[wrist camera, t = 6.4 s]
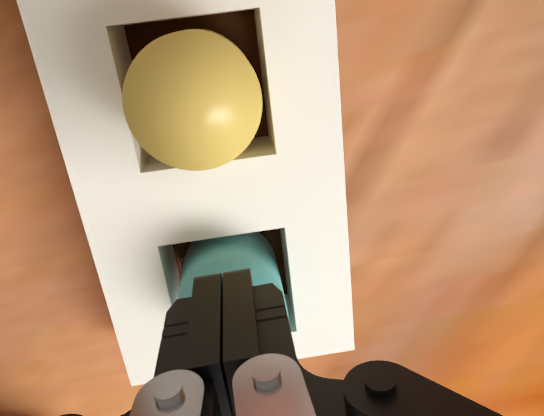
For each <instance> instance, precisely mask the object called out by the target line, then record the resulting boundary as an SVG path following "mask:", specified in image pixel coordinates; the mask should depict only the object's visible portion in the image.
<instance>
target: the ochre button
mask: <svg viewBox="0 0 544 416" xmlns="http://www.w3.org/2000/svg"><path fill="white" fill-rule="evenodd" d="M122 105H123V111H124V115H125V119H126V122H127V124H128V127H129V129H130V131H131V133H132V134H133V136H134V138H135V139H136V140H137V142H138V143H139V144H140V146H141V147H142V148H143V149H144V150H145V151H146V152H147V153H149V154H150V155H151V156H153V157H154V158H155V159H157V160H159V161H160V162H162V163H164V164H166V165H169V166H171V167H174V168H178V169H182V170H188V171H202V170H209V169H214V168H217V167H220V166H222V165H224V164H226V163H228V162H230V161H232V160H233V159H235V158H236V157H237V156H239V155H240V154H241V153H242V152H243V151H244V150H245V149H246V148H247V147H248V145H249V144H250V143H251V141H252V140H253V138H254V136H255V134H256V132H257V130H258V127H259V124H260V120H261V116H262V106H263V103H262V92H261V87H260V84H259V81H258V78H257V75H256V73H255V71H254V69H253V67H252V66H251V64H250V63H249V61H248V60H247V58H246V57H245V55H244V54H243V52H242V51H241V50H240V49H239V48H238V46H236V45H235V44H234V43H233V42H232V41H231V40H229V39H228V38H227V37H225V36H223V35H221V34H219V33H217V32H214V31H211V30H206V29H198V28H196V29H186V30H181V31H177V32H172V33H169V34H166V35H163V36H161V37H159V38H157V39H155V40H153V41H152V42H151V43H149V44H148V45H146V46H145V47H144V48H143V49H142V50H141V51H140V52H139V53H138V54H137V56H136V57H135V58H134V60H133V61H132V63H131V65H130V67H129V68H128V71H127V74H126V76H125V80H124V84H123V91H122Z"/></svg>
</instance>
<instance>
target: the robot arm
mask: <svg viewBox="0 0 544 416" xmlns="http://www.w3.org/2000/svg"><path fill="white" fill-rule="evenodd" d="M61 416H82V415H78V414H66V415H61ZM121 416H502V415H500V414H498V413H496V412H494V411H492V410H490V409H488V408H486V407H484V406H482V405H480V404H478V403H476V402H474V401H472V400H470V399H468V398H466V397H464V396H462V395H460V394H458V393H456V392H454V391H452V390H450V389H448V388H446V387H444V386H442V385H439V384H437V383H435V382H433V381H431V380H429V379H427V378H425V377H423V376H421V375H419V374H417V373H415V372H413V371H411V370H409V369H407V368H405V367H403V366H401V365H398V364H396V363H393V362H389V361H369V362H365V363H362V364H359V365H357V366H356V367H354V368H353V369H351V370H350V371H349V372H348V374H347V375H346V377H345V379H344V380H339V379H328V378H322V377H319V376H316V375H313V374H311V373H310V372H308V371H306V370H305V369H304V368H303V367H302V366H301V365H300V363H299V362H298V360H297V357H296V353H295V348H294V343H293V339H292V334H291V330H290V325H289V320H288V316H287V311H286V307H285V302H284V297H283V293H282V291H281V290H279V289H278V288H277V287H276V286H275V285H274V284H273V283H268V284H262V285H257V286H253V281H252V275H251V270H250V268H246V269H240V270H234V271H228V272H223V276H222V273H217V274H211V275H205V276H199V277H194V280H193V289H192V297H187V298H181V299H176V301H175V302H174V303H173V304H172V306H171V307H170V308H169V310H168V311H167V312H166V317H165V322H164V328H163V332H162V340H161V342H160V347H159V352H158V357H157V362H156V367H155V373H154V378H152V379H151V380H149V381H148V382H147V383H146V384H145V385H143V387H142V388H141V389H140V390H139V392H138V393H137V395H136V397H135V400H134V403H133V406H132V409H131V410H130V411H128V412H127V413H125V414H123V415H121Z"/></svg>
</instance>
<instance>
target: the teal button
mask: <svg viewBox="0 0 544 416" xmlns="http://www.w3.org/2000/svg"><path fill="white" fill-rule="evenodd" d="M246 268H250V270H251V275H252V281H253V286H257V285H262V284H268V283H273V284H274V285H275V286H276V287H277V288H278V289H279V290H281V291H282V293H283V297H284V302H285V307H286V311H287V316H288V309H287V304H286V300H285V296H284V291H283V287H282V283H281V278H280V274H279V270H278V265H277V261H276V257H275V253H274V250H273V248H272V246H271V244H270V243H269V242H268V240H267V239H266V238H265V237H264V236H263V235H262V234H260V233H259V232H252V233H245V234H238V235H231V236H224V237H218V238H211V239H204V240H197V241H192V242H191V244H190V245H189V247H188V249H187V251H186V253H185V256H184V261H183V267H182V274H181V280H180V286H179V293H178V299H181V298H187V297H192V289H193V280H194V277H199V276H205V275H211V274H217V273H222V276H223V272H228V271H234V270H240V269H246ZM288 320H289V316H288Z"/></svg>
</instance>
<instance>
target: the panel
mask: <svg viewBox="0 0 544 416" xmlns="http://www.w3.org/2000/svg"><path fill="white" fill-rule="evenodd" d="M16 1H17V4H18V7H19V11H20V14H21V18H22V21H23V24H24V28H25V31H26V34H27V38H28V41H29V44H30V48H31V51H32V54H33V58H34V61H35V64H36V68H37V71H38V75H39V78H40V81H41V85H42V88H43V91H44V95H45V98H46V101H47V105H48V108H49V111H50V115H51V118H52V121H53V125H54V128H55V132H56V135H57V138H58V142H59V145H60V148H61V152H62V155H63V158H64V162H65V165H66V168H67V172H68V175H69V179H70V182H71V185H72V189H73V192H74V195H75V199H76V202H77V205H78V209H79V212H80V215H81V219H82V222H83V225H84V229H85V232H86V236H87V239H88V242H89V246H90V249H91V252H92V256H93V259H94V262H95V266H96V269H97V272H98V276H99V279H100V282H101V286H102V289H103V293H104V296H105V299H106V303H107V306H108V309H109V313H110V316H111V319H112V323H113V326H114V329H115V333H116V336H117V340H118V343H119V346H120V350H121V353H122V356H123V360H124V363H125V366H126V370H127V373H128V376H129V380H130V383H131V386H135V385H141V384H146V383H147V382H148V381H149V380H151V379H152V378H154V373H155V367H156V362H157V357H158V352H159V347H160V342H161V340H162V332H163V328H164V322H165V317H166V312H167V311H168V310H169V308H170V307H171V306H172V304H173V303H174V302H175V301H176V299H178V293H179V286H180V277H179V273H178V268H177V263H176V259H175V254H174V250H173V245H172V244H177V243H184V242H191V241H197V240H204V239H211V238H218V237H224V236H231V235H238V234H245V233H252V232H258V231H265V230H272V229H279V228H280V234H281V243H282V251H283V259H284V268H285V276H286V285H287V293H288V294H284V296H285V300H286V304H287V309H288V316H289V325H290V330H291V334H292V339H293V343H294V348H295V353H296V357H297V359H301V358H307V357H313V356H319V355H326V354H332V353H338V352H344V351H350V350H355V347H354V329H353V312H352V294H351V277H350V259H349V242H348V224H347V206H346V189H345V171H344V154H343V136H342V119H341V101H340V84H339V66H338V49H337V31H336V13H335V0H16ZM246 10H254V16H255V25H256V33H257V41H258V50H259V58H260V66H261V75H262V83H263V92H264V100H265V108H266V117H267V125H268V134H269V136H263V137H256V138H253V140H252V141H251V143H250V144H249V145H248V147H247V148H246V149H245V150H244V151H243V152H242V153H241V154H240V155H239V156H237V157H236V158H235V159H233V160H232V161H230V162H228V163H226V164H224V165H222V166H220V167H217V168H214V169H209V170H202V171H188V170H182V169H178V168H174V167H171V166H169V165H166V164H164V163H162V162H160V161H159V160H157V159H155V158H154V157H153V156H151V155H150V154H149V153H147V152H146V151H145V150H144V149H143V148H142V147H141V146H140V144H139V143H138V142H137V140H136V139H135V138H134V136H133V134H132V133H131V131H130V129H129V127H128V124H127V122H126V119H125V115H124V111H123V105H122V91H123V84H124V80H125V76H126V74H127V71H128V68H129V67H130V65H131V63H132V60H131V55H130V51H129V46H128V42H127V37H126V33H125V28H124V25H132V24H140V23H148V22H156V21H164V20H173V19H181V18H189V17H197V16H205V15H213V14H221V13H229V12H237V11H246Z"/></svg>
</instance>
